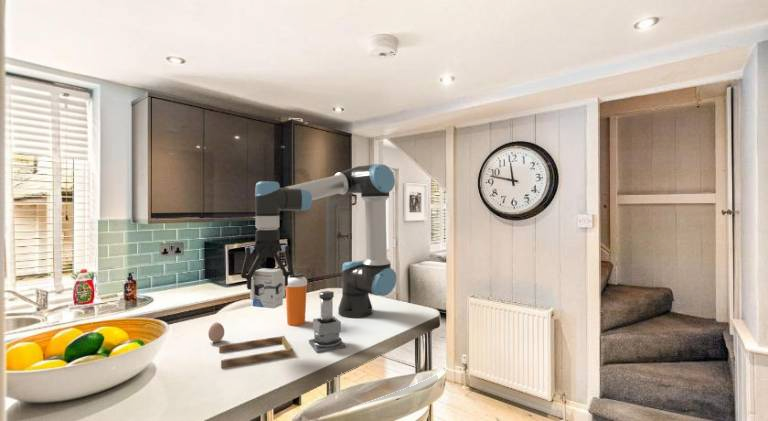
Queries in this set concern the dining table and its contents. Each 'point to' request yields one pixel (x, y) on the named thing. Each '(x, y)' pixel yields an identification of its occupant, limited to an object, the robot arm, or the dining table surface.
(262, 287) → the ink box
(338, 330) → the peg socket
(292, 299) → the shaker bottle
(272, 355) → the bay
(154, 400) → the dining table surface
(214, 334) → the egg
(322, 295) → the handle peg
